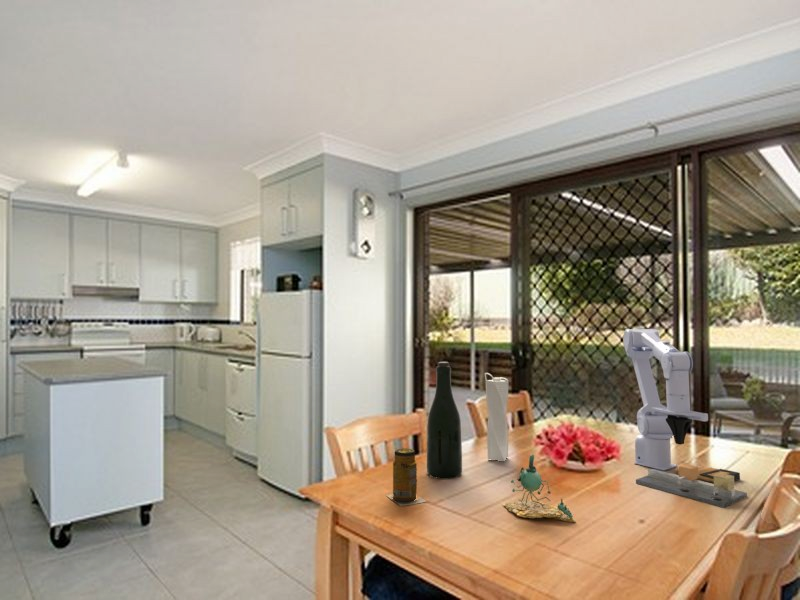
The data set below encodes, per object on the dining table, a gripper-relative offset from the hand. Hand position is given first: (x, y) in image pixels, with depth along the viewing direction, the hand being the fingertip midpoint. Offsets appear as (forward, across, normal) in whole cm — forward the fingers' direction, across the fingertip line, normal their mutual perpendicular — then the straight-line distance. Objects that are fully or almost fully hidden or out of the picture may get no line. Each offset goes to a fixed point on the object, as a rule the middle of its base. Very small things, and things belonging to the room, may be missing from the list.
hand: (679, 443), depth 138 cm
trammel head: (+9, +4, -7) cm, 12 cm away
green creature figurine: (+11, -8, -52) cm, 53 cm away
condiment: (+11, -34, -70) cm, 79 cm away
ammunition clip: (+9, +8, +10) cm, 16 cm away
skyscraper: (+10, -46, -26) cm, 53 cm away
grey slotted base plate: (+11, +4, -5) cm, 13 cm away
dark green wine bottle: (+11, -44, -50) cm, 67 cm away
